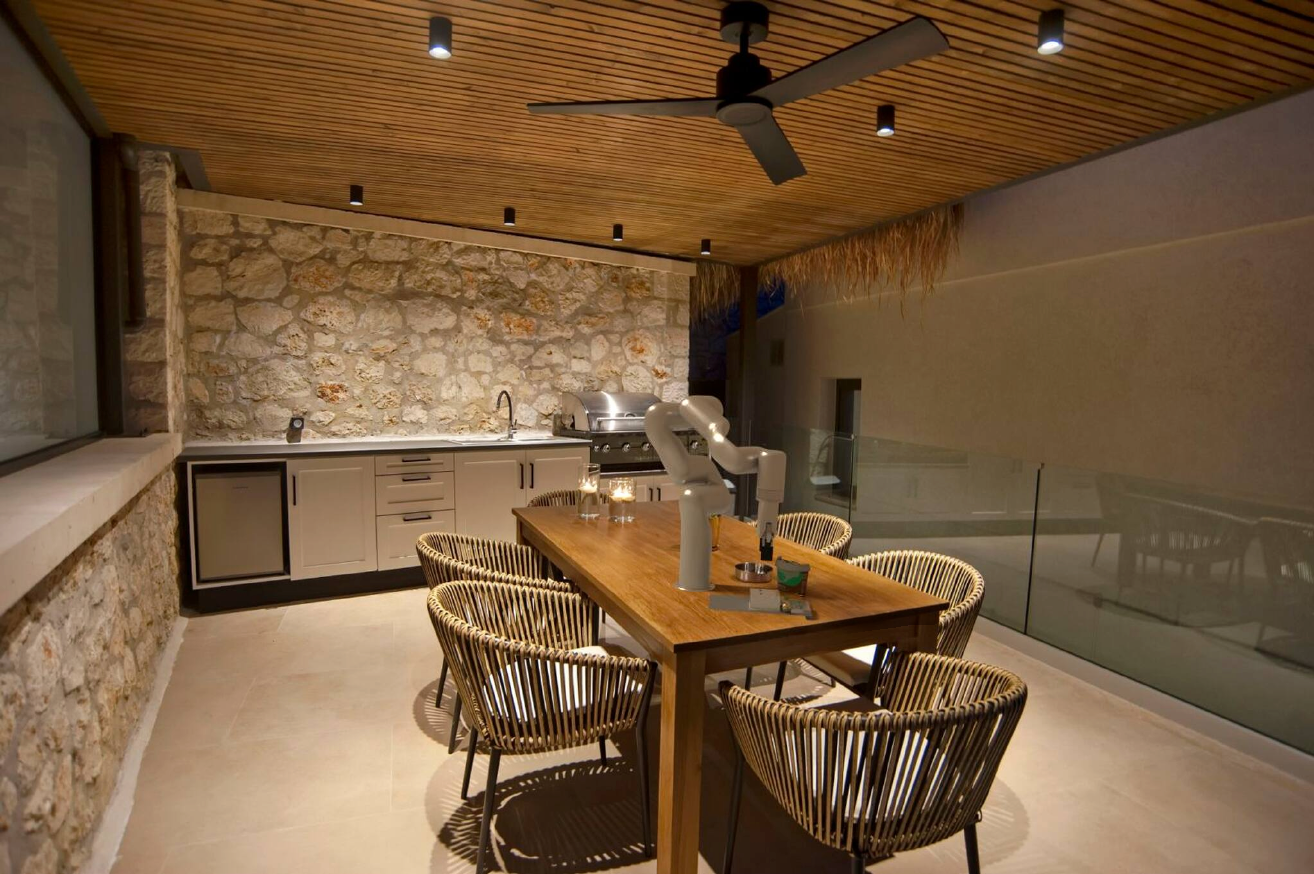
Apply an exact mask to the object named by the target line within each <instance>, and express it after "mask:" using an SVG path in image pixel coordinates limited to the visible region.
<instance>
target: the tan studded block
mask: <svg viewBox="0 0 1314 874" xmlns="http://www.w3.org/2000/svg"><path fill="white" fill-rule="evenodd" d="M749 597H750V601H749V603H750V609H760V610H775V611H780V599H781V594H780V590H779V589H776V588H775V589H765V588H763V589H762V588H749Z"/></svg>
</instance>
